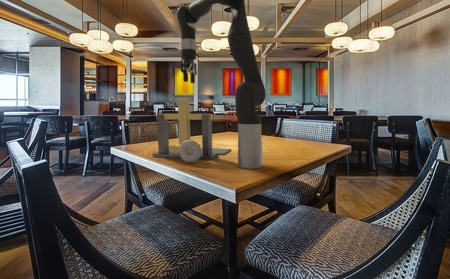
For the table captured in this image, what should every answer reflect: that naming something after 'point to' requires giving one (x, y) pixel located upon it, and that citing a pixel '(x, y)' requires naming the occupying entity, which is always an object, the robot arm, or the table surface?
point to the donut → (196, 149)
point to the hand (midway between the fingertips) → (189, 82)
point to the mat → (219, 151)
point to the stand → (205, 154)
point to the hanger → (183, 123)
